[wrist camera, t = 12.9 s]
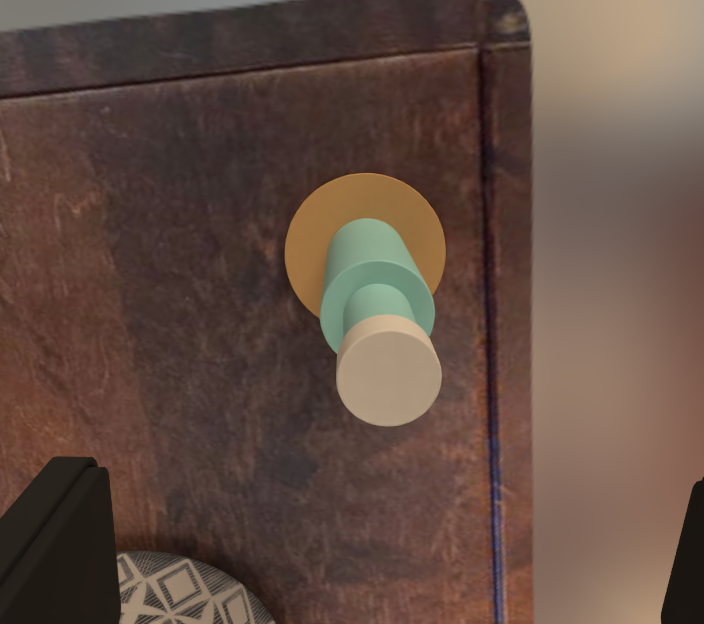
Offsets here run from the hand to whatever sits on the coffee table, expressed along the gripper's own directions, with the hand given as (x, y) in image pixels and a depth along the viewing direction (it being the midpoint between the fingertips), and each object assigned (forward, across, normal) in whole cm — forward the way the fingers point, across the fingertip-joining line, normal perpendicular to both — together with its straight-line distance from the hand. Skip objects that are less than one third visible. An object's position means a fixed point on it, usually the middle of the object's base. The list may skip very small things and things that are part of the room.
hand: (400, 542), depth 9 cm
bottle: (+24, -1, +1) cm, 25 cm away
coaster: (+25, -1, +1) cm, 25 cm away
